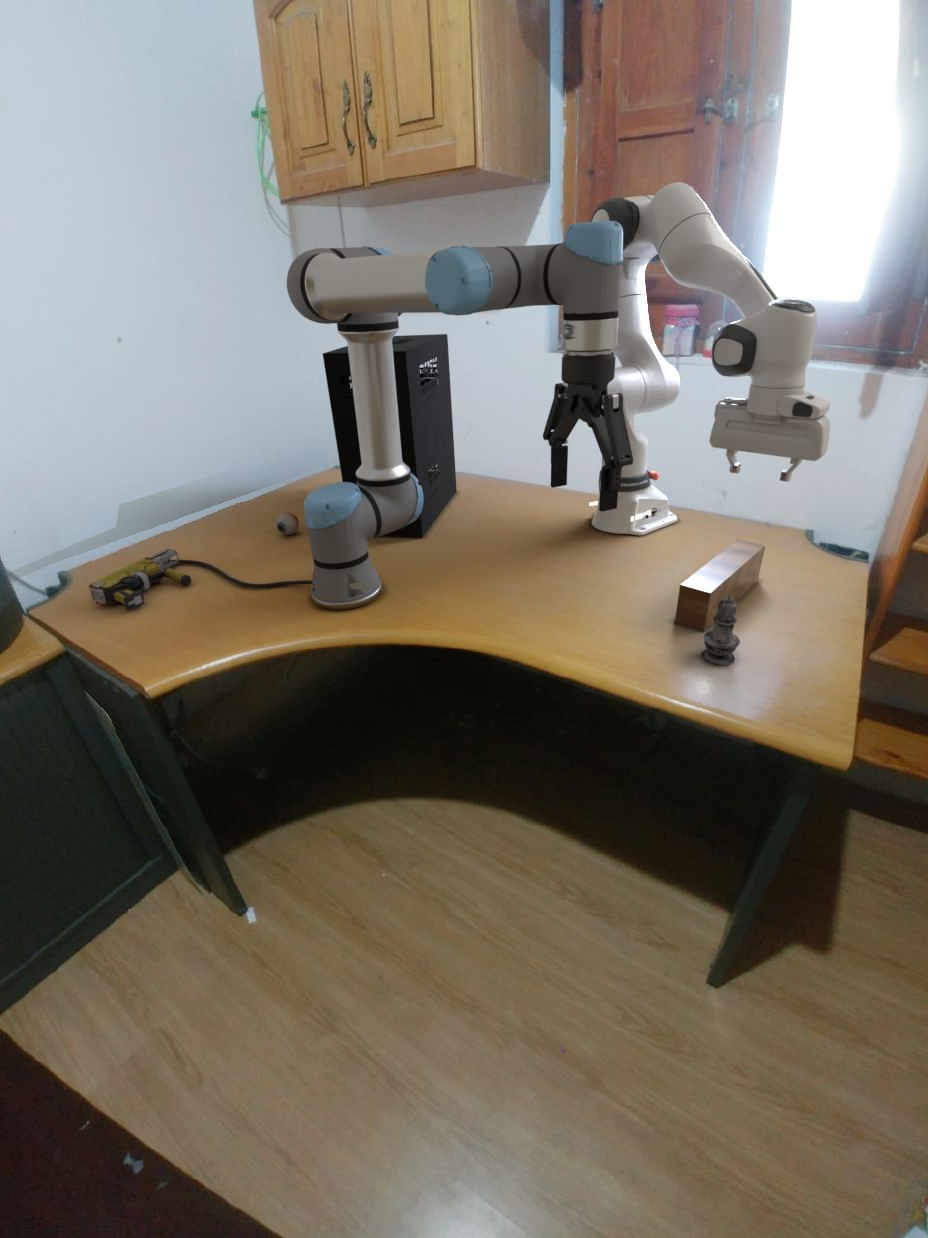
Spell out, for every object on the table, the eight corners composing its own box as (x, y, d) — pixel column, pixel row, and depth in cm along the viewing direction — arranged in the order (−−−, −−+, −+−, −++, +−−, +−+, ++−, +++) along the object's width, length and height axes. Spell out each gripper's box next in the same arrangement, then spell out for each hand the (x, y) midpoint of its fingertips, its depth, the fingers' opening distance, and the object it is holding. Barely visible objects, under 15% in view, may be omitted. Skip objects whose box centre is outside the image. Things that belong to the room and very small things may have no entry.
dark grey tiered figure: (739, 667, 101) (752, 604, 95) (702, 664, 102) (713, 602, 96) (733, 648, 106) (745, 587, 100) (697, 646, 107) (708, 585, 101)
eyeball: (273, 537, 164) (268, 516, 161) (287, 528, 169) (282, 508, 166) (291, 539, 161) (286, 518, 158) (305, 530, 166) (301, 510, 163)
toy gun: (215, 556, 146) (165, 546, 150) (137, 598, 126) (82, 584, 130) (218, 574, 148) (168, 563, 152) (142, 617, 128) (87, 603, 132)
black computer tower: (422, 537, 158) (405, 350, 135) (350, 534, 162) (322, 353, 140) (456, 491, 189) (447, 333, 167) (395, 489, 194) (378, 336, 171)
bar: (730, 573, 131) (737, 539, 127) (757, 580, 128) (765, 545, 124) (674, 622, 115) (679, 584, 111) (703, 631, 112) (710, 593, 108)
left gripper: (522, 347, 94) (522, 480, 105) (622, 363, 74) (610, 526, 85) (563, 343, 96) (559, 473, 107) (670, 357, 77) (653, 515, 87)
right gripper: (710, 399, 113) (699, 471, 120) (829, 409, 101) (810, 490, 108) (723, 393, 117) (712, 464, 124) (840, 403, 105) (821, 481, 112)
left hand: (581, 497), depth 96 cm, fingers open, 13 cm apart
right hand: (759, 476), depth 116 cm, fingers open, 8 cm apart
